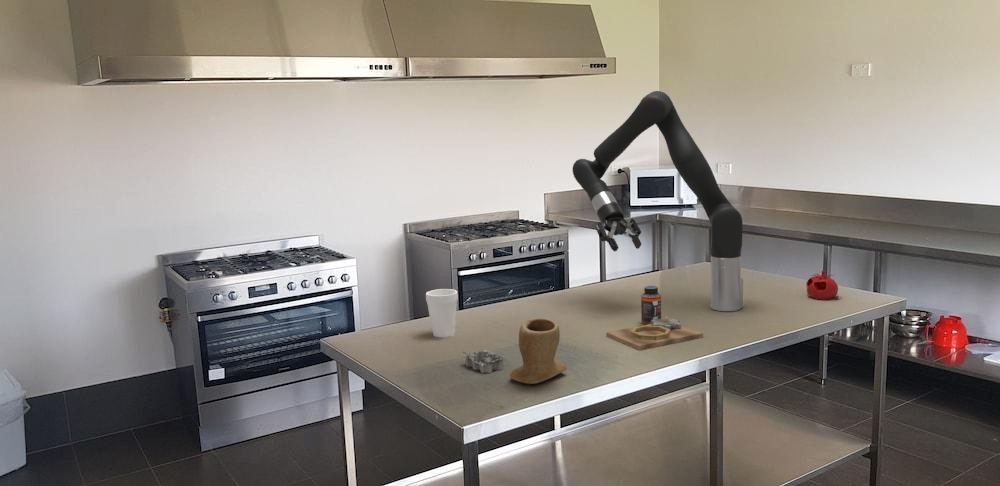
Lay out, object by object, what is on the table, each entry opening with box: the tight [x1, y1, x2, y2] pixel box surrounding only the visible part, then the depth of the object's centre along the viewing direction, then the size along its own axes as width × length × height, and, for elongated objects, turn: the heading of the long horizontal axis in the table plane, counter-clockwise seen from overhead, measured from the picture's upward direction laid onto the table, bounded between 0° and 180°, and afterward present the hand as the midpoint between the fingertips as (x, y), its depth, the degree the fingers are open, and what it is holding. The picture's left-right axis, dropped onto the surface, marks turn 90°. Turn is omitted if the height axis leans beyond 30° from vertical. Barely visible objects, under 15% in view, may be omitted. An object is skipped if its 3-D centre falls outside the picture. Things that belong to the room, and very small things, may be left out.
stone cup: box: [509, 317, 568, 385], centre depth 191 cm, size 15×12×15 cm
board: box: [605, 316, 704, 351], centre depth 223 cm, size 22×16×4 cm
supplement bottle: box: [640, 285, 662, 325], centre depth 236 cm, size 6×6×11 cm
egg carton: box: [462, 349, 506, 374], centre depth 203 cm, size 11×8×4 cm
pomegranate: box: [805, 270, 839, 300], centre depth 259 cm, size 10×10×9 cm
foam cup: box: [425, 288, 459, 338], centre depth 234 cm, size 10×9×13 cm
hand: (627, 248), depth 244 cm, fingers open, 8 cm apart
